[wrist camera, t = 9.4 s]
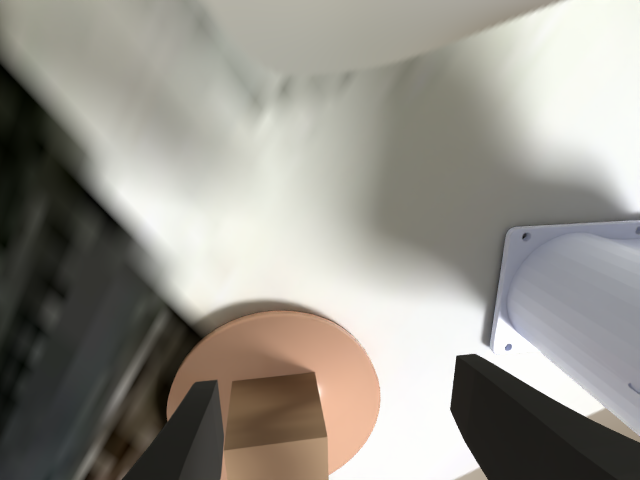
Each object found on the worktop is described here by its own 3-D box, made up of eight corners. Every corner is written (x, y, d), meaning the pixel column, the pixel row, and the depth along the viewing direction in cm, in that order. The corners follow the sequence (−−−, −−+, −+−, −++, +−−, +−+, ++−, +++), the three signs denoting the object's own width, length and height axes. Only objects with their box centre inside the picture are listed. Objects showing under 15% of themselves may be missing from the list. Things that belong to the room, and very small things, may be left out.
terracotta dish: (379, 300, 21) (384, 309, 20) (372, 463, 25) (376, 477, 24) (156, 317, 20) (150, 328, 19) (184, 488, 23) (181, 504, 22)
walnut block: (314, 371, 21) (327, 436, 17) (316, 435, 22) (329, 510, 18) (232, 380, 20) (223, 450, 16) (239, 445, 22) (233, 525, 17)
